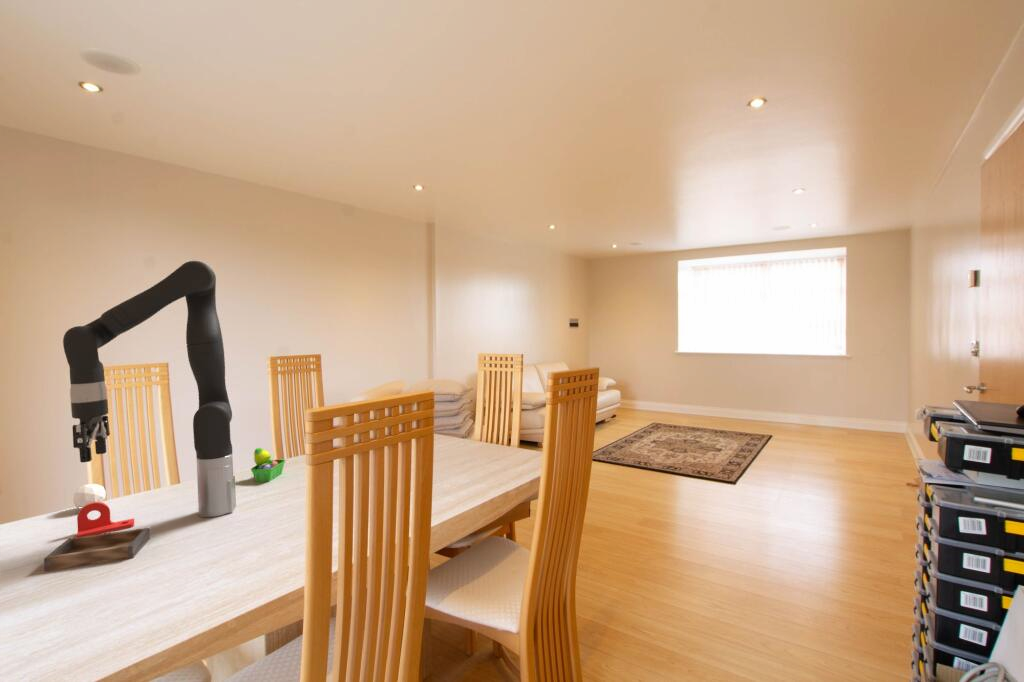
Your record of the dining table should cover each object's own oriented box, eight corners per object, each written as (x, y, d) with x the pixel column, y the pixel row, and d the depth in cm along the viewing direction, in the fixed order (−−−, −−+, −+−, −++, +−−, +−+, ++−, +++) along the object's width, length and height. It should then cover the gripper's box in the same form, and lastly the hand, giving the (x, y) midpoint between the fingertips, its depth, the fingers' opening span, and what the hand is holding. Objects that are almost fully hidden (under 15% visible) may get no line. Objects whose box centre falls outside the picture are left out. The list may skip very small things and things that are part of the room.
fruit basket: (271, 482, 171) (270, 451, 170) (246, 483, 171) (245, 451, 170) (286, 472, 182) (285, 443, 182) (263, 473, 182) (262, 443, 182)
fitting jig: (149, 538, 127) (149, 527, 127) (133, 557, 117) (132, 545, 116) (69, 550, 121) (69, 538, 121) (44, 571, 111) (43, 558, 111)
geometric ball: (93, 514, 151) (105, 489, 155) (102, 510, 147) (114, 484, 151) (63, 509, 146) (77, 483, 150) (72, 504, 142) (86, 478, 146)
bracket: (76, 539, 127) (75, 510, 127) (78, 533, 131) (77, 505, 131) (133, 527, 135) (132, 499, 134) (134, 522, 138) (133, 495, 138)
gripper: (93, 401, 125) (98, 462, 126) (117, 394, 138) (121, 449, 139) (57, 404, 122) (62, 466, 123) (85, 396, 136) (90, 452, 137)
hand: (94, 457), depth 131 cm, fingers open, 8 cm apart
